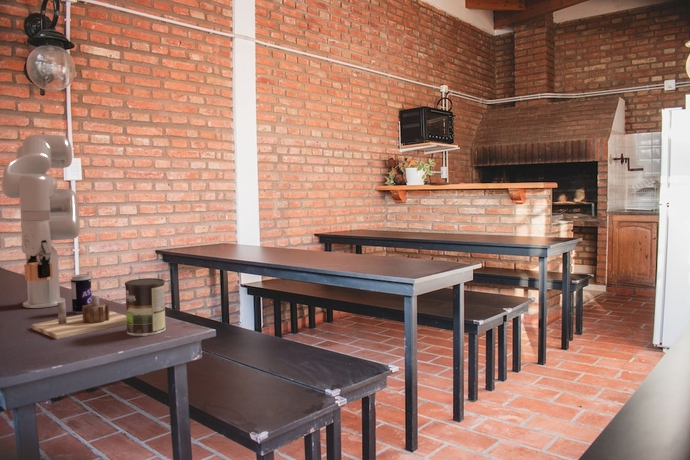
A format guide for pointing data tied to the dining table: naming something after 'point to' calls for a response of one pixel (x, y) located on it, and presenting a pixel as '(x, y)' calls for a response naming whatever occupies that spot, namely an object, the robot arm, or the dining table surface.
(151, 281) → the coffee can
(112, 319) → the gear board
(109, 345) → the dining table surface
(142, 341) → the dining table surface
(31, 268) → the loose gear
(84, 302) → the beverage can
